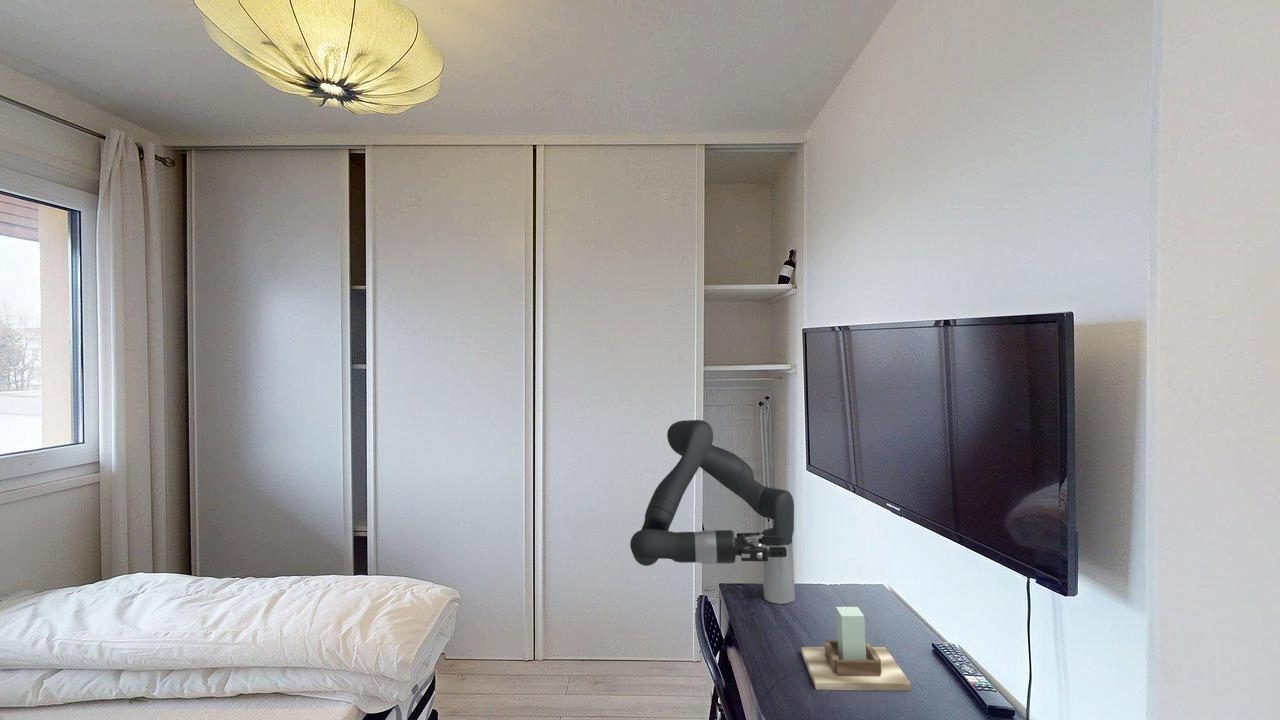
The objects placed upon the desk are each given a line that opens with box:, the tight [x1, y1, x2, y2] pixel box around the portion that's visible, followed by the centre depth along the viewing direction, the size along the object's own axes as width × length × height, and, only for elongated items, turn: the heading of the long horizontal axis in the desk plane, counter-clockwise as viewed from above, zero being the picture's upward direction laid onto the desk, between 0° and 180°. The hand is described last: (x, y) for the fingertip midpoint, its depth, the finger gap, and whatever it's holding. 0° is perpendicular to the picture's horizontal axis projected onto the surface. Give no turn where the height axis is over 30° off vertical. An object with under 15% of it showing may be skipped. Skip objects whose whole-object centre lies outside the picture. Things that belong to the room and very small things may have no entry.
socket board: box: [800, 639, 912, 692], centre depth 129 cm, size 16×20×4 cm
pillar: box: [835, 606, 867, 660], centre depth 129 cm, size 5×5×12 cm
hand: (783, 545), depth 133 cm, fingers open, 8 cm apart
